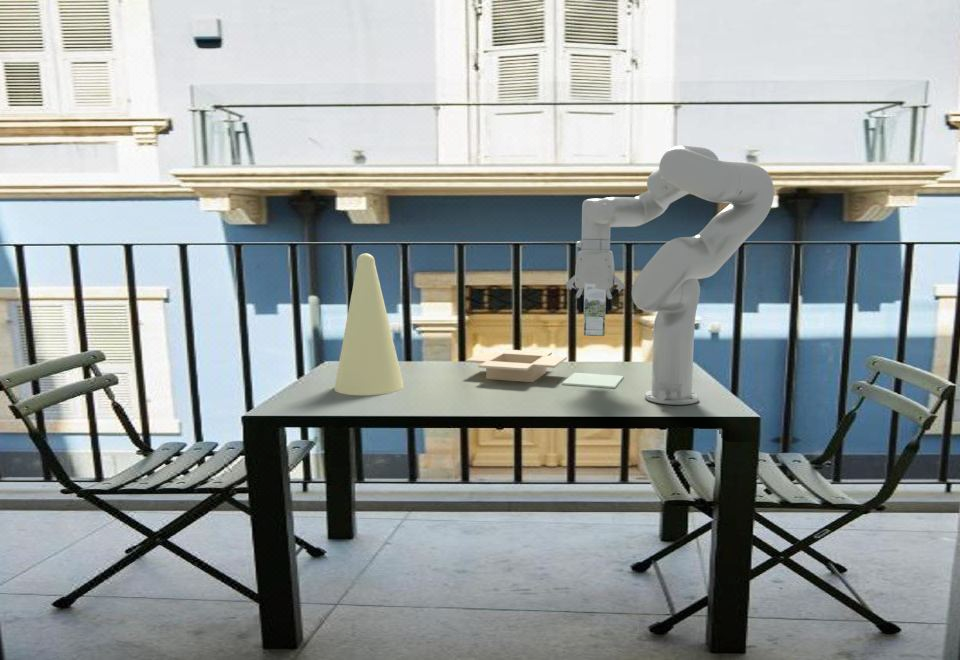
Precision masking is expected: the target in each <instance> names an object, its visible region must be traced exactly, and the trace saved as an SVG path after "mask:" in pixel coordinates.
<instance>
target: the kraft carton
mask: <svg viewBox="0 0 960 660" xmlns="http://www.w3.org/2000/svg"><path fill="white" fill-rule="evenodd" d="M567 358H568V357H567V356H560V355H558V356H557V355H553V352H552V351H540V350H539V351H538V350H524V349H523V350H522V349H521V350H519V349H507V350H505V351H503V352H491V351H482V352H480V353H478V354H476V355H474V356H471V357H469V358H468V359H466V360H465V362H466V363H473V364H475V363H476V364H478V365H477V366H478V368H482V369H485V379H486V380H494V381H495V380H496V381H507V382H508V381H509V382H524V383H534V382H536V381H537V380H538V379H540V378H541V377H542V376H544V375H545V374H547V368H551V369H552V368H553V369H555V368H557V367H558V366H559V365H561V364H562V363H564V362H565V361H566V360H568V359H567Z"/></svg>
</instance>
